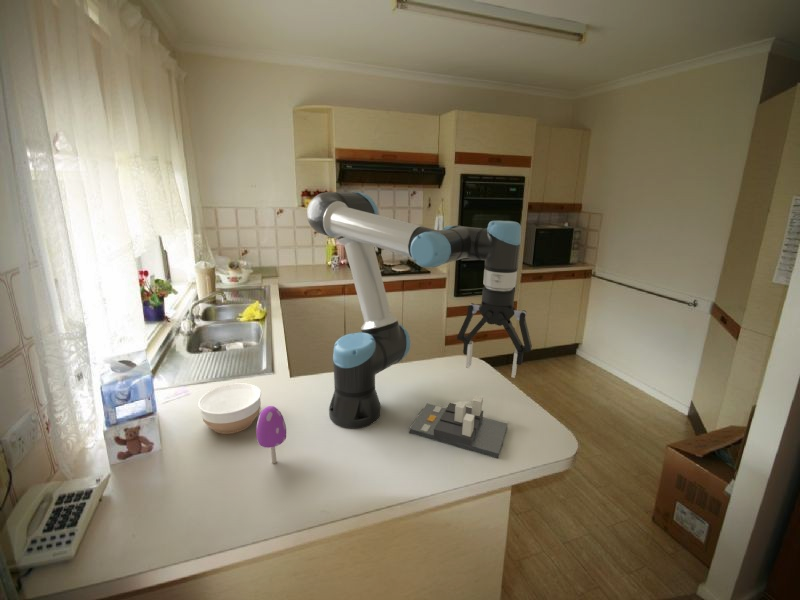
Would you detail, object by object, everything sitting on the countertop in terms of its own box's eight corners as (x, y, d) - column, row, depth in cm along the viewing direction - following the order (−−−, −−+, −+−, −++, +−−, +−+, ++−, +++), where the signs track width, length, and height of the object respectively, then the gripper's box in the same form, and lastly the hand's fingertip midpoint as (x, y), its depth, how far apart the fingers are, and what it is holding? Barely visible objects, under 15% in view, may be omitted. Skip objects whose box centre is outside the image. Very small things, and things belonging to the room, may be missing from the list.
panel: (409, 433, 106) (409, 427, 105) (426, 407, 118) (427, 402, 118) (498, 458, 97) (498, 452, 96) (507, 428, 109) (507, 422, 108)
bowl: (238, 401, 120) (235, 377, 117) (275, 416, 112) (273, 392, 110) (189, 427, 106) (185, 402, 104) (227, 447, 99) (223, 420, 96)
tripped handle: (454, 420, 105) (455, 406, 104) (457, 415, 108) (458, 400, 107) (462, 422, 105) (463, 408, 103) (465, 417, 107) (466, 402, 106)
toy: (272, 475, 90) (267, 419, 85) (253, 464, 93) (247, 409, 89) (294, 459, 95) (290, 405, 91) (275, 449, 98) (271, 396, 94)
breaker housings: (433, 435, 103) (434, 413, 101) (449, 408, 115) (450, 388, 113) (470, 446, 99) (472, 423, 97) (482, 417, 111) (484, 396, 109)
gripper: (447, 284, 94) (442, 367, 100) (549, 297, 85) (537, 387, 91) (456, 278, 100) (450, 356, 107) (551, 289, 92) (539, 373, 98)
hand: (490, 370), depth 99 cm, fingers open, 11 cm apart
